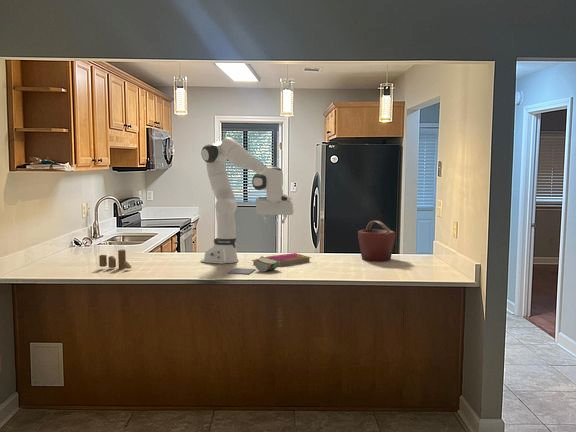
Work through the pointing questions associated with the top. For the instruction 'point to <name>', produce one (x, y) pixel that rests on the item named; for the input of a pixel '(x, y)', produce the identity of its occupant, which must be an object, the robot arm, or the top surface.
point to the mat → (241, 271)
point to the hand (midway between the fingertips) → (274, 223)
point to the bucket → (376, 243)
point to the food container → (266, 264)
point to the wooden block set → (112, 260)
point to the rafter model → (289, 259)
